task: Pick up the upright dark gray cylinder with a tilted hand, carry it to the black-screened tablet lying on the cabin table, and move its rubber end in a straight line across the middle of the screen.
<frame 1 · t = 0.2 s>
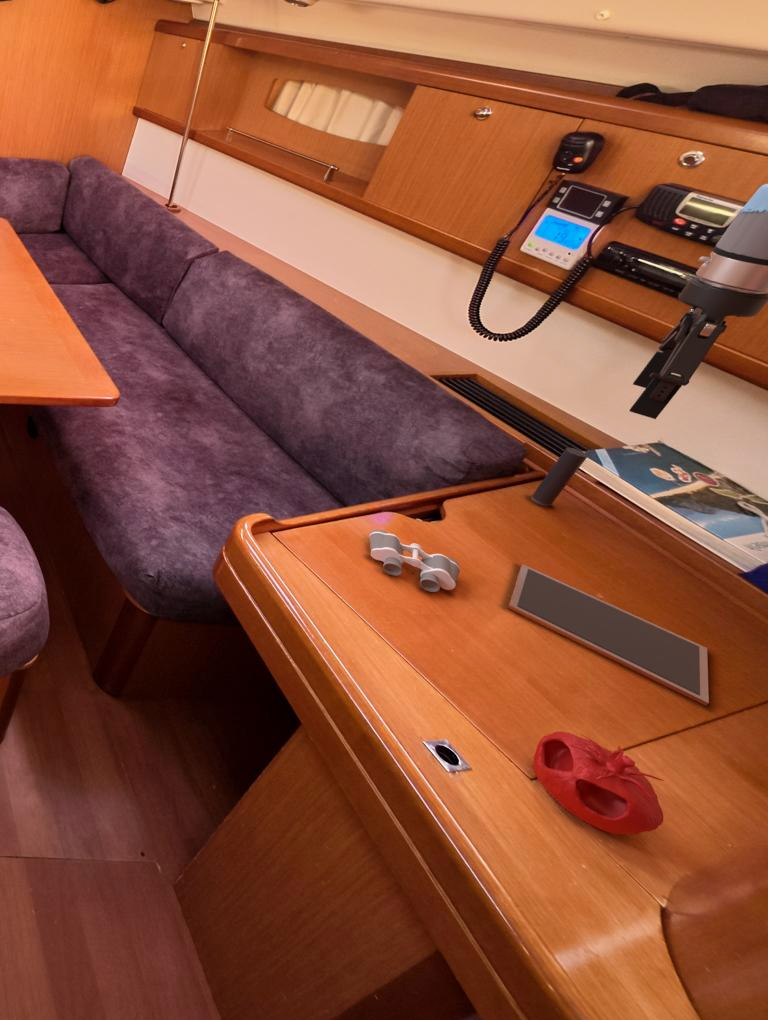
hand: (643, 400, 103), 30 cm above the table, tool pointing down, fingers open, 13 cm apart
tablet: (602, 628, 98), on the table
dark gray cylinder: (540, 501, 124), on the table
binoculars: (407, 569, 108), on the table
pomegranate: (577, 798, 77), on the table
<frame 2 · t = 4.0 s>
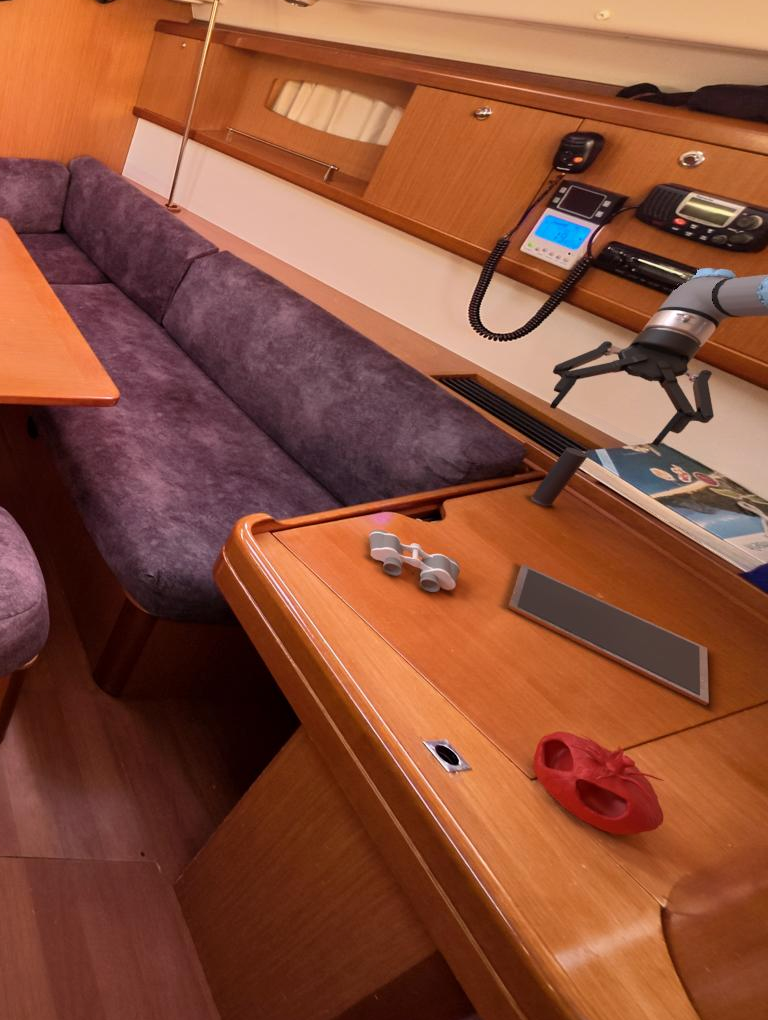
hand: (602, 423, 121), 16 cm above the table, tool tilted 45°, fingers open, 13 cm apart
nothing on the table moved.
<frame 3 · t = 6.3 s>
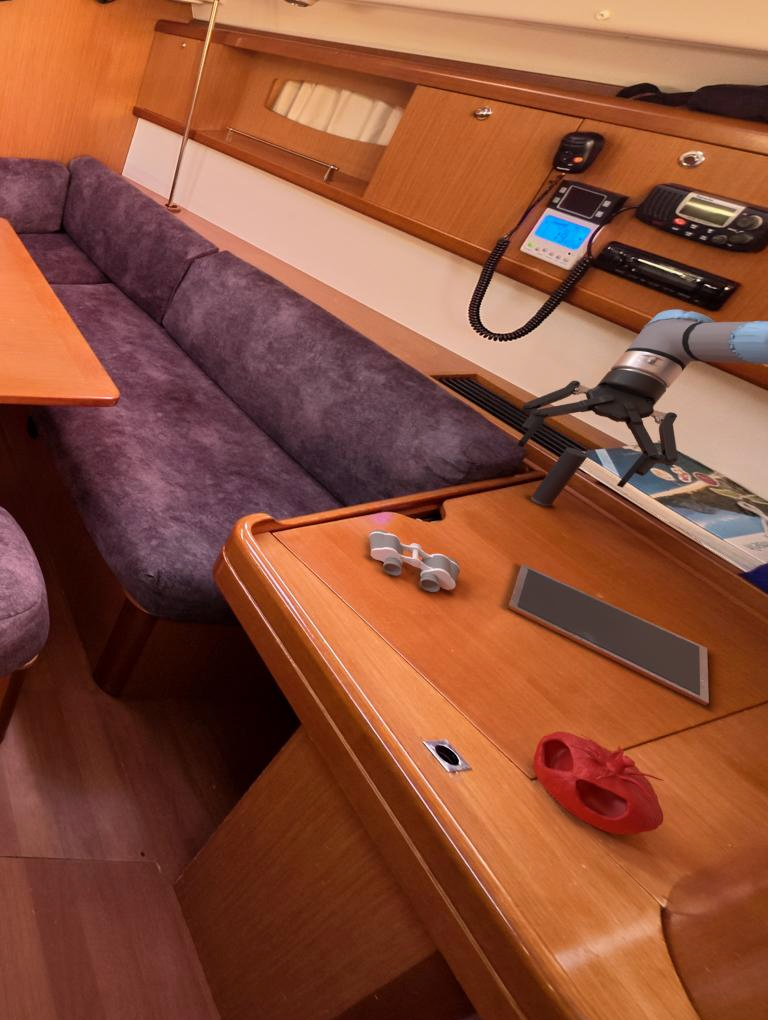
hand: (568, 463, 121), 9 cm above the table, tool tilted 45°, fingers open, 13 cm apart
nothing on the table moved.
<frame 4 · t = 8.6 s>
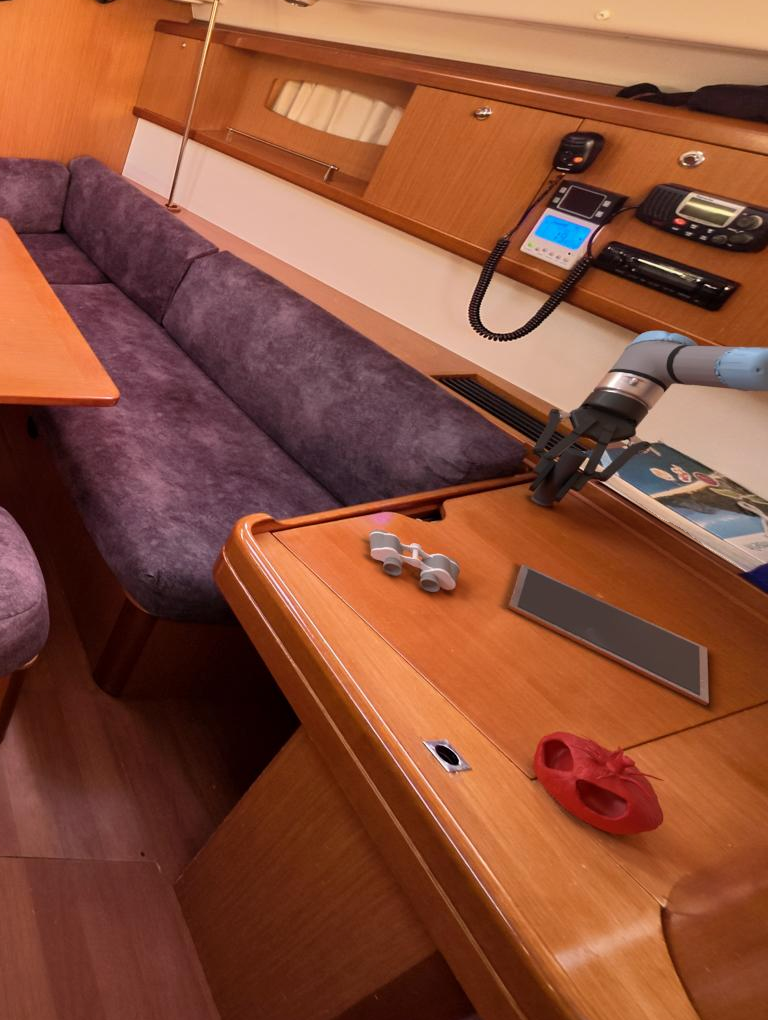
hand: (544, 494, 120), 4 cm above the table, tool tilted 45°, fingers closed on dark gray cylinder, 3 cm apart
dark gray cylinder: (540, 501, 124), on the table, touching gripper
everything else where it was.
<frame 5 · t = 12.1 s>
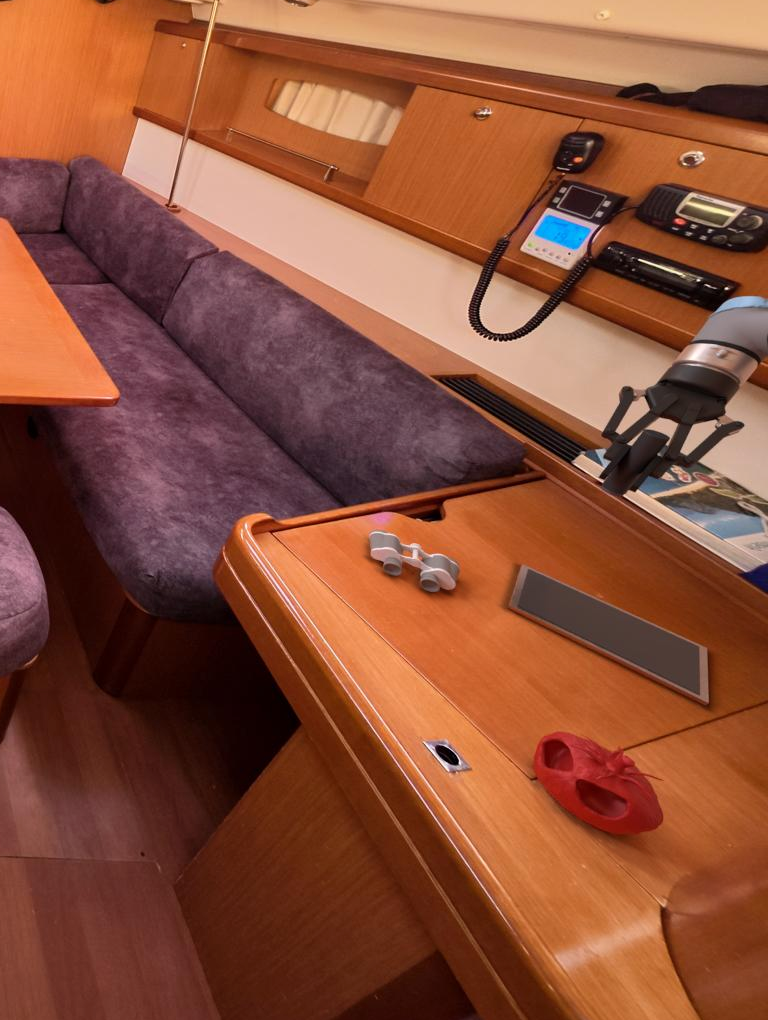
hand: (618, 482, 106), 16 cm above the table, tool tilted 45°, fingers closed on dark gray cylinder, 3 cm apart
dark gray cylinder: (611, 491, 109), point 12 cm above the table, touching gripper
everything else where it was.
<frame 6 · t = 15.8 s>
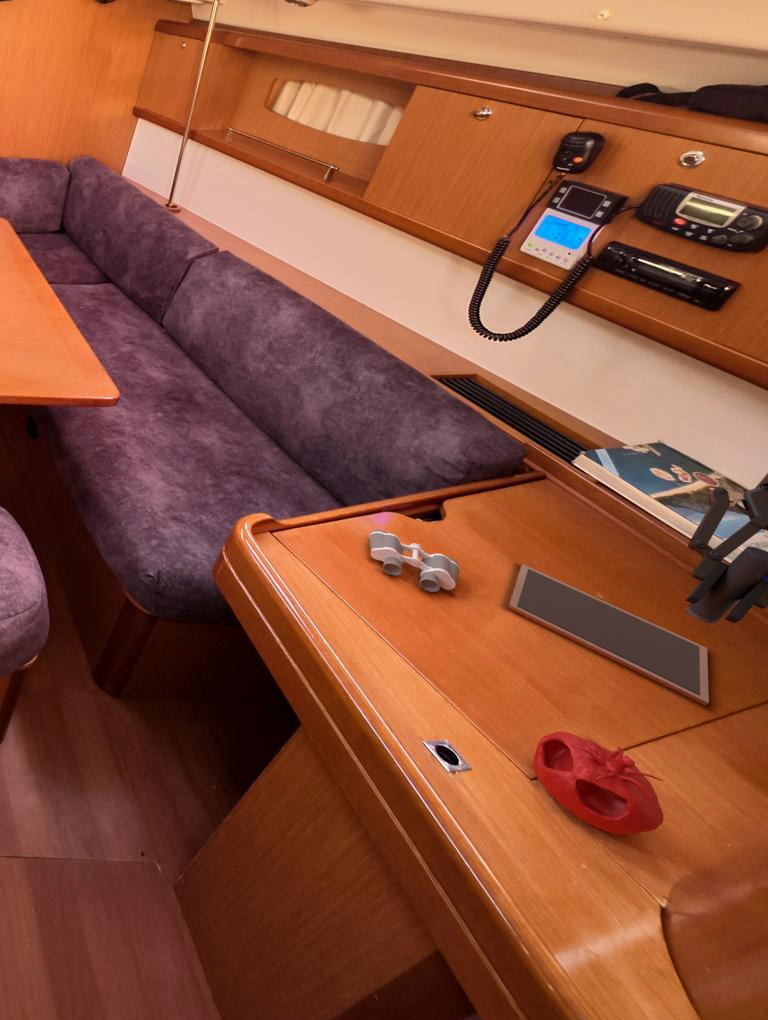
hand: (712, 609, 87), 13 cm above the table, tool tilted 45°, fingers closed on dark gray cylinder, 3 cm apart
dark gray cylinder: (700, 615, 90), point 9 cm above the table, touching gripper
everything else where it was.
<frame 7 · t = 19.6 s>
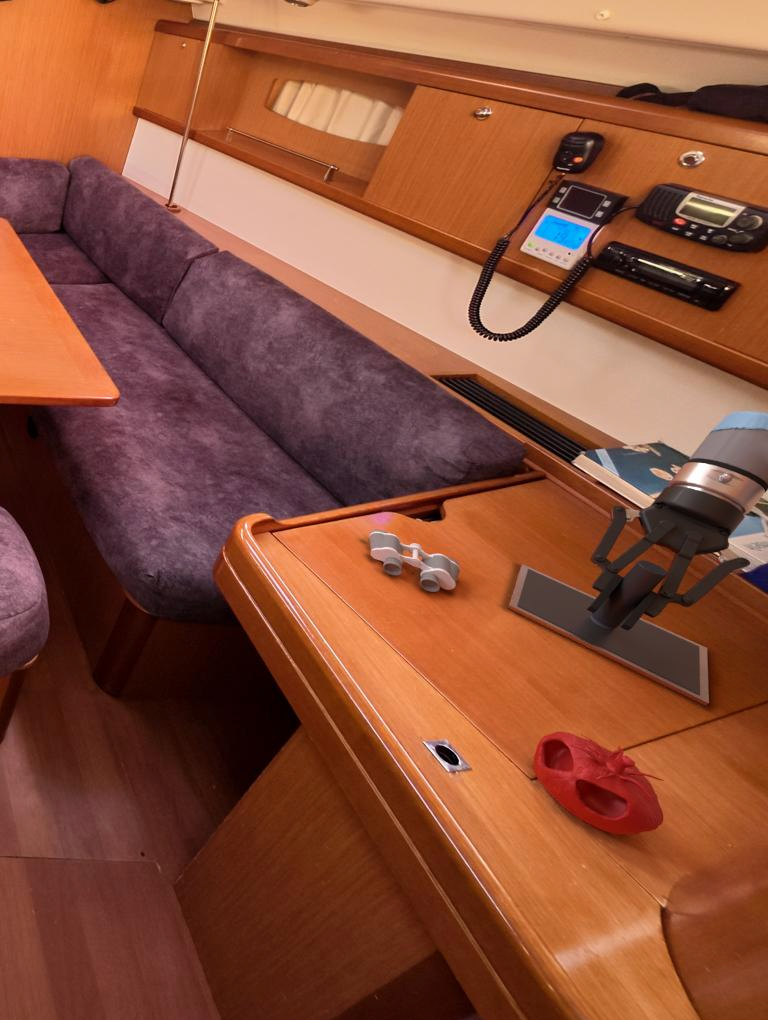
hand: (608, 618, 95), 4 cm above the table, tool tilted 45°, fingers closed on dark gray cylinder, 3 cm apart
dark gray cylinder: (602, 622, 98), point 1 cm above the table, touching gripper
everything else where it was.
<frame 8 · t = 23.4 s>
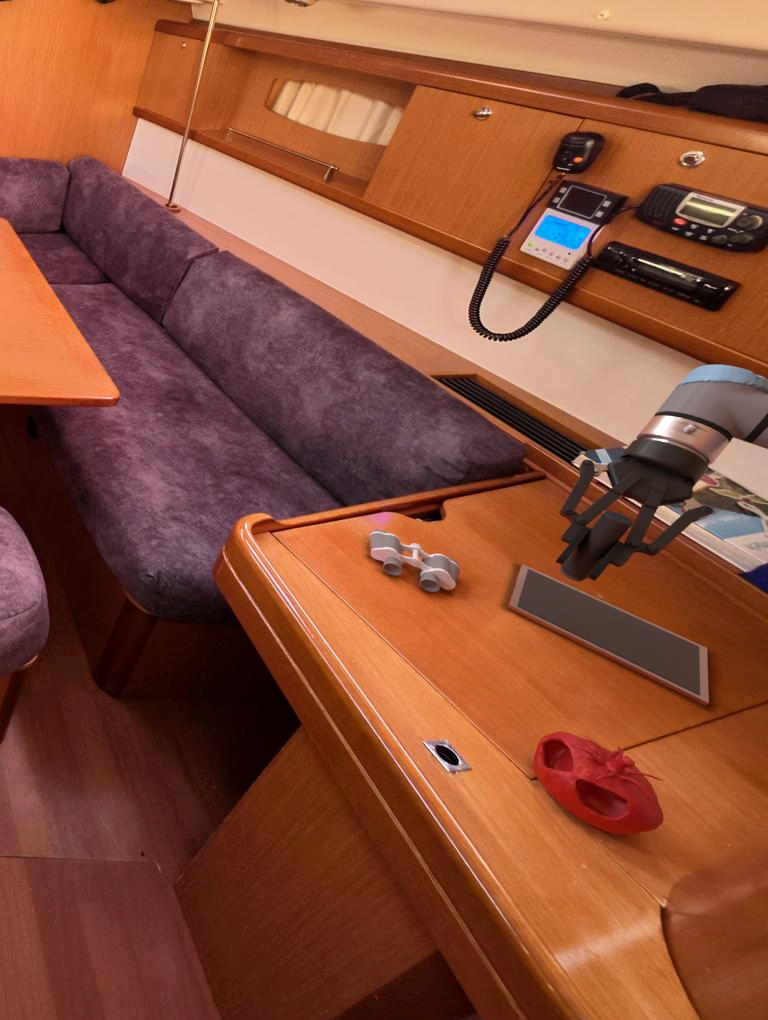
hand: (576, 568, 96), 10 cm above the table, tool tilted 45°, fingers closed on dark gray cylinder, 3 cm apart
dark gray cylinder: (571, 575, 99), point 6 cm above the table, touching gripper
everything else where it was.
at the end: the gripper is holding dark gray cylinder; dark gray cylinder 0.2 cm from the target spot on the tablet, point 6.5 cm above the tablet's base; dark gray cylinder moved 34.7 cm from its start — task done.
